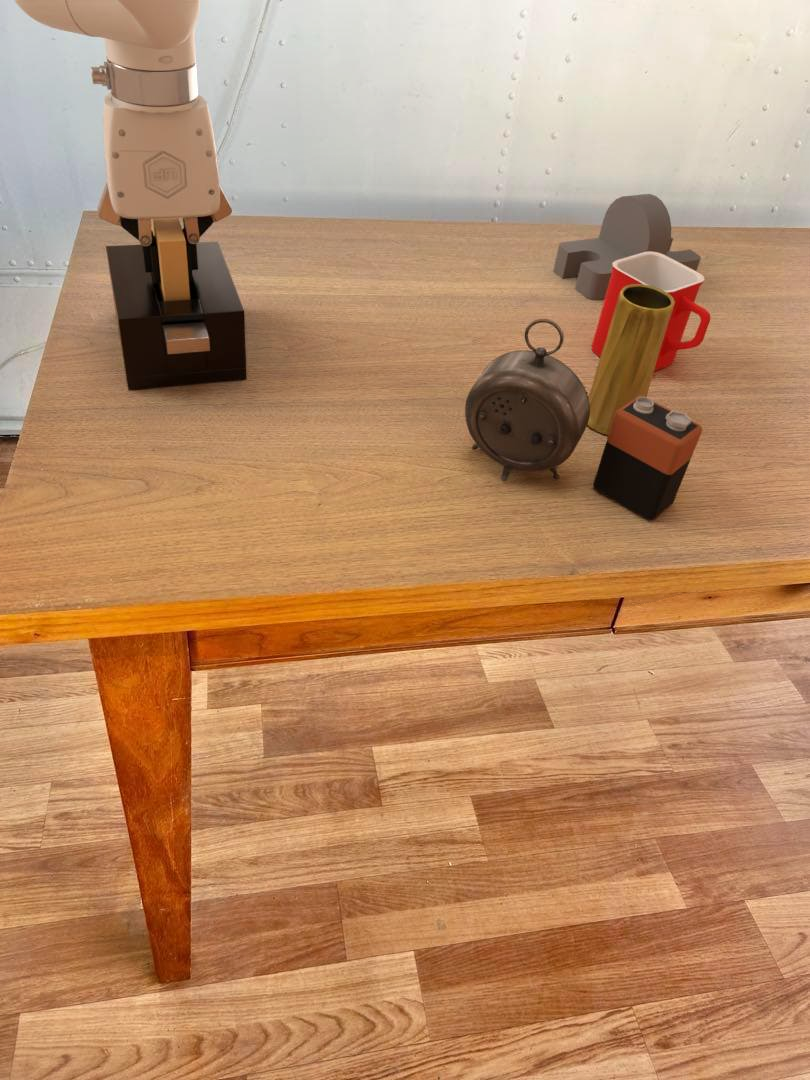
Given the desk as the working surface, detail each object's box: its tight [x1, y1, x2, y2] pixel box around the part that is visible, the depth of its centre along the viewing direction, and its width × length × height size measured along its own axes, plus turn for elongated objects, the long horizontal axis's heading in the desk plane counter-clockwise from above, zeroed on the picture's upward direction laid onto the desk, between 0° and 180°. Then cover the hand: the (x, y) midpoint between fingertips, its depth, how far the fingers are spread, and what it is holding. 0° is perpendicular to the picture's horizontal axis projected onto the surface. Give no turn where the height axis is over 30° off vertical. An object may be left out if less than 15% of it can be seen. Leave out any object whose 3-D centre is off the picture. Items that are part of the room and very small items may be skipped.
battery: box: [592, 396, 703, 521], centre depth 79 cm, size 4×7×10 cm, turn 47°
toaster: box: [105, 240, 247, 391], centre depth 91 cm, size 12×16×8 cm
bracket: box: [553, 193, 702, 301], centre depth 114 cm, size 10×18×11 cm, turn 116°
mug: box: [591, 251, 711, 372], centre depth 97 cm, size 12×8×11 cm
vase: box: [587, 284, 675, 436], centre depth 87 cm, size 6×6×14 cm
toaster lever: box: [163, 322, 210, 354], centre depth 83 cm, size 4×3×2 cm
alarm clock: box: [464, 318, 590, 483], centre depth 78 cm, size 11×5×16 cm, turn 65°
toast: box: [151, 218, 190, 301], centre depth 88 cm, size 2×8×8 cm, turn 18°
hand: (171, 275), depth 89 cm, fingers closed on toast, 2 cm apart
